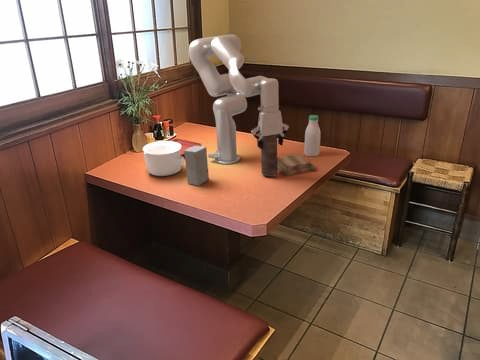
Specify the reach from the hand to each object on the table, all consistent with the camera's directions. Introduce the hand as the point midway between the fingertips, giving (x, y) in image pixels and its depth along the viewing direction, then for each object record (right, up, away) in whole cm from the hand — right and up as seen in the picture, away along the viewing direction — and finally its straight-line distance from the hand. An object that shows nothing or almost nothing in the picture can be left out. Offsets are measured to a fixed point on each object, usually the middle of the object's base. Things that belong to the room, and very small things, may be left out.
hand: (270, 146), depth 183 cm
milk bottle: (+23, -2, +28) cm, 36 cm away
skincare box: (-32, -16, +2) cm, 36 cm away
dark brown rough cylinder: (0, -13, +7) cm, 14 cm away
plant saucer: (-46, 0, +38) cm, 59 cm away
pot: (-49, -11, +13) cm, 52 cm away
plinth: (+12, -9, +14) cm, 20 cm away
